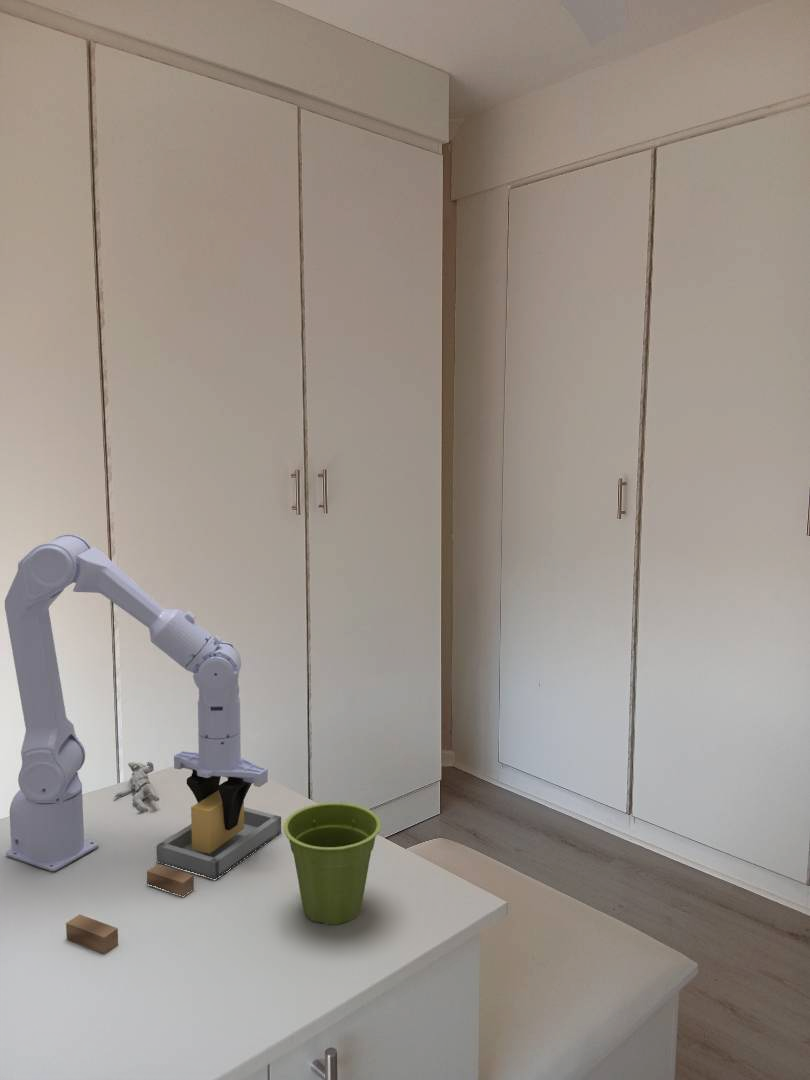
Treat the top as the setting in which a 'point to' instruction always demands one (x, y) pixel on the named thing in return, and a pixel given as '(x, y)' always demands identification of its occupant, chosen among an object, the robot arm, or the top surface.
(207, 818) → the block
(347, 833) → the plant pot
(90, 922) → the brown block pair
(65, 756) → the robot arm
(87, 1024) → the top surface
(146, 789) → the soldier figure
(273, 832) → the tray
